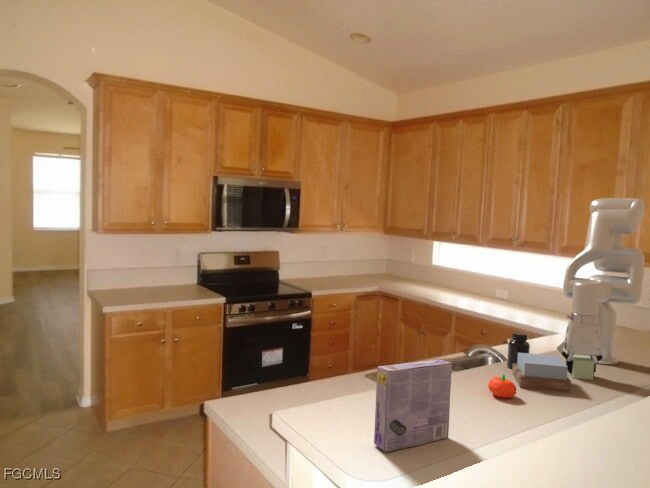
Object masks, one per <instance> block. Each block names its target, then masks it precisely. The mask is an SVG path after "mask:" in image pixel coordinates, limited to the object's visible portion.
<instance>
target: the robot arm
mask: <svg viewBox="0 0 650 488" xmlns="http://www.w3.org/2000/svg"><path fill="white" fill-rule="evenodd" d="M645 210H646V208H645V202H644V201H643V200H642V199H640V198H638V197H636V198H635V197H634V198H633V197H620V198H619V197H608V198H607V197H601V198H597V199H593V200H592V201H591V202H590V204H589V213H590V216H589V220H588V226H587V233H586V238H585V243H584V248H583V250H582V251H580V252H579V253H578V254H577V255H575V256H574V257H573V258H572V260H570V262H569V264H568V265H567V268H566V270H565V275H564V280H563V285H562V291H563V295H564V297H566V298H568V299H571V300H572V301H571V312H570V314H566V319H569V320H570V321H568V323H567V326H566V331H565V336H564V340H563V341H562V342H561V343H560V344H559V345H558V346H556V351H558V352H559V353H560V354H561V355H562V356H563V357H564V359H565V360H566V361H565V365H566V366H567V367H568V370H567V373H568V372H569V373H572V364H573V362H572V358H573V356H574V355H578V356H587V357H589V358H590V359H592V360H593V361H594V373H596V371H597V364H600V365H617V364H619V358H617V357H616V356H615V354H614V353H615V345H616V344H615V343H616V341H615V340H616V330H617V329H616V328H617V311H616V310H615V308H614V307H613V305H612V304H611V303H615V304H616V303H617V304H627V305H637V304H638V303H639V302H640V301H641V298H642V292H643V283H644V275H645V274H644V273H645V264H646V263H645V255H644V251H642V249H640V248H635V247H626V246H625V247H623V240H624V235H625V234H626V235H633V234H634V233H635V232H637V230H638V229H639V226H640V223H642V222H641V221H642V220H643V218H644V215H645ZM592 262H593V266H594V269H596V270H598V271H600V272H605V273H615V274H623V275H627V277H626V276H616V275H608V274H593V275H590V276H589V277H588V278H583V277H581V278H580V277H576V275H577V273H578V271H579V270H580V269H581V268H583V267H584V266H585V265H588V264H590V263H592ZM564 349H565V350H566V351H567V352H566V351H564ZM569 373H568V374H569Z"/></svg>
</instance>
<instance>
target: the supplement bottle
mask: <svg viewBox="0 0 650 488" xmlns="http://www.w3.org/2000/svg"><path fill="white" fill-rule="evenodd" d="M511 333H512V334H511V338H512V339H510V340H509V341H508V345H507V346H508V347H507V360H506V362H507V363H506V366H507V367H508V368H509V369H511V370H512V364H513V363H516V364H517V359H518V353H530V349H531V347H530V343H529V342H528V341H527V340H528V334H527V333H525V332H519V331H513V332H511Z"/></svg>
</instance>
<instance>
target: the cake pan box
mask: <svg viewBox="0 0 650 488" xmlns="http://www.w3.org/2000/svg"><path fill="white" fill-rule="evenodd" d="M452 366H453V364H452V362H450V361H447V360H442V359H431V360H425V361H415V362H406V363H405V362H403V363H397V364H396V363H395V364H388V365H379V366H377V367H376V370H377V371H376V388H375V389H376V390H375V410H374V411H375V413H374V416H375V417H374V433H373V434H374V437H373V443H374V445H375V446H377V447H378V448H379V449H380V450H381V451H383V452H384V453H385V454H387V453H390V452H393V451H398V450H402V449H406V448H414V447H418V446H422V445H426V444H428V443H431V442H435V441H440V440H444V439H449V431H450V430H449V429H450V428H449V427H450V407H451V385H452V372H453V371H452V368H453V367H452Z"/></svg>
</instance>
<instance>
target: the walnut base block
mask: <svg viewBox="0 0 650 488" xmlns="http://www.w3.org/2000/svg"><path fill="white" fill-rule="evenodd" d="M511 375H512V376H513V377H514V380H515V382H516V383H517V385H518V386H519V388H520V389H528V390H537V391H538V390H540V391H548V392H550V391H551V392H562V393H571V385H572V381H571V380H570V378H569V377H568V376H567V380H562V379H551V378H540V377H529V376H524V375H523V373H522V372H521V370H520V368H519V367H518V365H517V364H516V363H513V364H512V369H511Z"/></svg>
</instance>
